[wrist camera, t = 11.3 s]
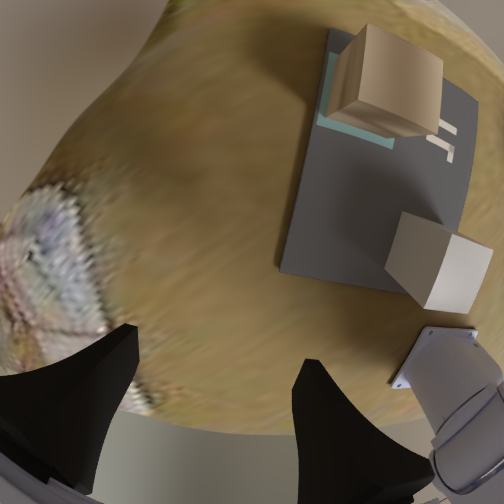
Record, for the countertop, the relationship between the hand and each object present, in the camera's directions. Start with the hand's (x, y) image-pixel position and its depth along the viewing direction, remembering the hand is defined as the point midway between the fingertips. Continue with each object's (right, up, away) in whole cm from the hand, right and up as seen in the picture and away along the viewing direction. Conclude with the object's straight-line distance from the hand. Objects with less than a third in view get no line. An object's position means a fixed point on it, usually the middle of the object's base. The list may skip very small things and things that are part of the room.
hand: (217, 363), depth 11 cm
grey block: (+14, +5, +7) cm, 16 cm away
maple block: (+9, +15, +4) cm, 18 cm away
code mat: (+12, +10, +6) cm, 17 cm away
